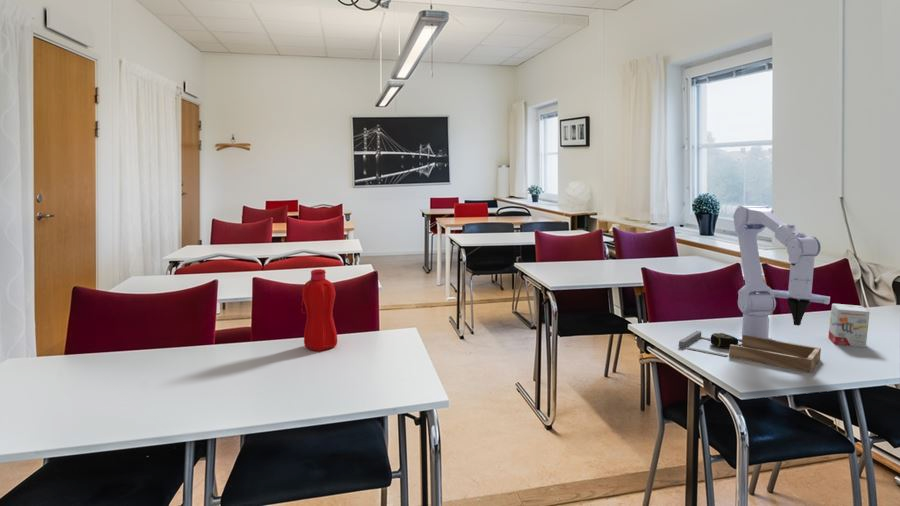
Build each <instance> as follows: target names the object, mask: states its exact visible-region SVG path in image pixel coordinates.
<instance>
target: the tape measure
mask: <svg viewBox="0 0 900 506" xmlns="http://www.w3.org/2000/svg"><path fill="white" fill-rule="evenodd" d="M710 338H711V340H710V344H711V345H713V346H715V347H718V348H721V349H722V348H724V349H725V348H727V349H728V348H729V349H730V345H731V344H732V345H737V344H739V340H738V337H735V336H732V335H731V334H730V335H729V334H726V333H723V332H720V333H719V332H714V333H712V334H711V335H710ZM737 346H738V345H737Z"/></svg>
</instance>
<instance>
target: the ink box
mask: <svg viewBox="0 0 900 506" xmlns="http://www.w3.org/2000/svg"><path fill="white" fill-rule="evenodd" d="M869 320H870V311H869V310H868V309H867V308H866V307H864V306H863V305H854V304H844V303H843V304H841V303H832V304H831V311H830V318H829V327H828V339H829V340H830V341H831V342H832V343H833V344H834V345H837V346H846V345H848V346H849V347H857V346H860V347H859V348H866V347H867V339H868V331H869V322H870V321H869Z"/></svg>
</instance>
